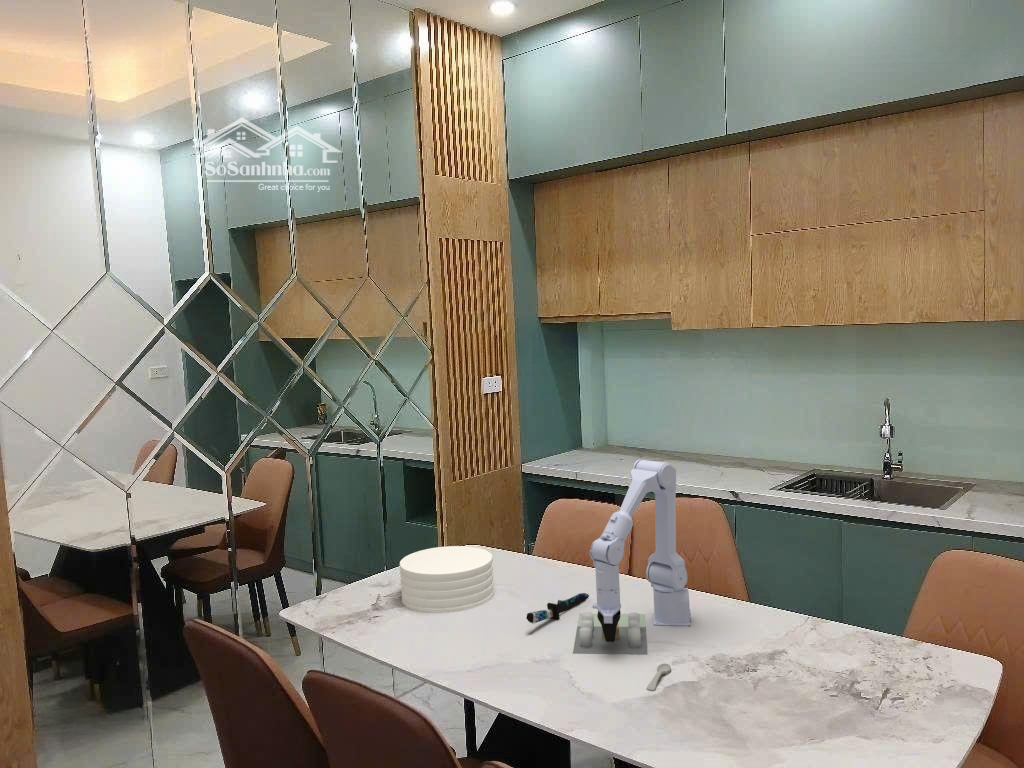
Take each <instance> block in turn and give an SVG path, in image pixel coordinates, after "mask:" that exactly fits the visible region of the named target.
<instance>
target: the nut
mask: <svg viewBox="0 0 1024 768" xmlns="http://www.w3.org/2000/svg"><path fill="white" fill-rule="evenodd" d="M602 639H603V640H605V637H604V632H603V628H602ZM615 640H619V624H617V628H616V635H615Z"/></svg>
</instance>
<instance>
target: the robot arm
mask: <svg viewBox="0 0 1024 768" xmlns="http://www.w3.org/2000/svg"><path fill="white" fill-rule="evenodd" d="M630 479H631V482H630V484H629V487H628V490H627V492H626V494H625V495H624V499H623V501H622V504H621V506H620V509H619V510H618V511H615V512H613V513H612V514H611V516H610V518H609V520H608V522H607V524H606V525H605V528H604V529H603V530H602V531H603V532H602V534H601V535H600V537H599V538H597V539H595V540H594V541H592V543H591V546H590V550H589V557H590V558H591V560H592V561H593V562H592V564H593V567H594V569H595V583H596V584H595V585H596V587H595V588H596V602H594V603H593V602H592V606H591V607H592V609H593V610H594V609H596V610H597V613H596V614H597V617H598V620H599V621H600V623H601V625H602V628H603V632H604V637H605V640H606V642H614V641H615V635H616V628H617V624H618V622H619V620H620V614H622V613H621V609H622V603H621V592H620V591H621V587H620V567H619V563H620V562H621V561H622V559H624V553H625V552H624V549H625V545H626V543H625V541H626V540H627V538H628V535H629V534H630V531H631V530H632V528H633V526H634V522H633V515H634V514H635V512H637V511H636V510H637V509H638V508H639V506H640V504H641V503H642V501H643V500H644V498H645V496H646V495H647V494H648V493H651V492H652V493H654V505H655V506H654V512H655V513H654V515H655V517H654V518H655V520H654V521H655V523H654V524H655V526H654V530H655V531H654V532H655V533H654V535H655V538H654V539H655V545H654V546H655V551H654V552H653V553H652V554H650V556H649V557H648V560H647V563H648V564H647V567H646V569H645V576H646V577H645V578H646V580H647V582H649V583H650V587H651V588H653V589H652V591H653V606H654V607H653V613H652V623H653V626H670V627H671V626H673V627H676V626H677V627H678V626H679V627H684V626H686V627H689V626H691V616H692V615H691V614H692V613H691V608H690V592H689V591H690V590H689V588H688V587H685V586H686V585H687V583H688V571H687V570H686V562H685V561H686V560H685V559H684V558H682V556H680V554H679V553H677V524H676V523H677V520H676V519H677V513H676V511H677V510H676V509H677V505H676V504H677V503H676V497H677V495H676V494H677V493H676V491H677V469H676V467H675V466H674V465H673V464H672V463H670V462H668V461H667V462H666V461H665V462H664V461H663V462H662V461H656V460H655V461H654V460H649V459H643V458H640V459H637V460H636V461H635V462H634V464H633V466H632V469H631V471H630Z"/></svg>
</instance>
